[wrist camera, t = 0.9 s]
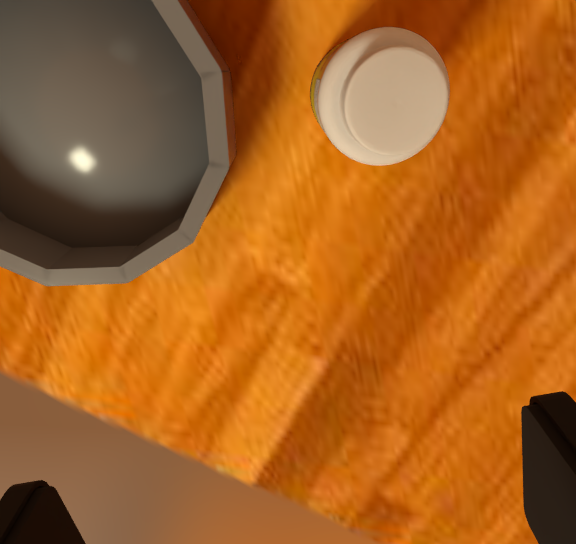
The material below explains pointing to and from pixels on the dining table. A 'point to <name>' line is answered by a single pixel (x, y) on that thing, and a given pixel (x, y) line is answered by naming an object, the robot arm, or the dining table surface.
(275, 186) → the dining table surface
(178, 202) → the bowl
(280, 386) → the dining table surface
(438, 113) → the supplement bottle
